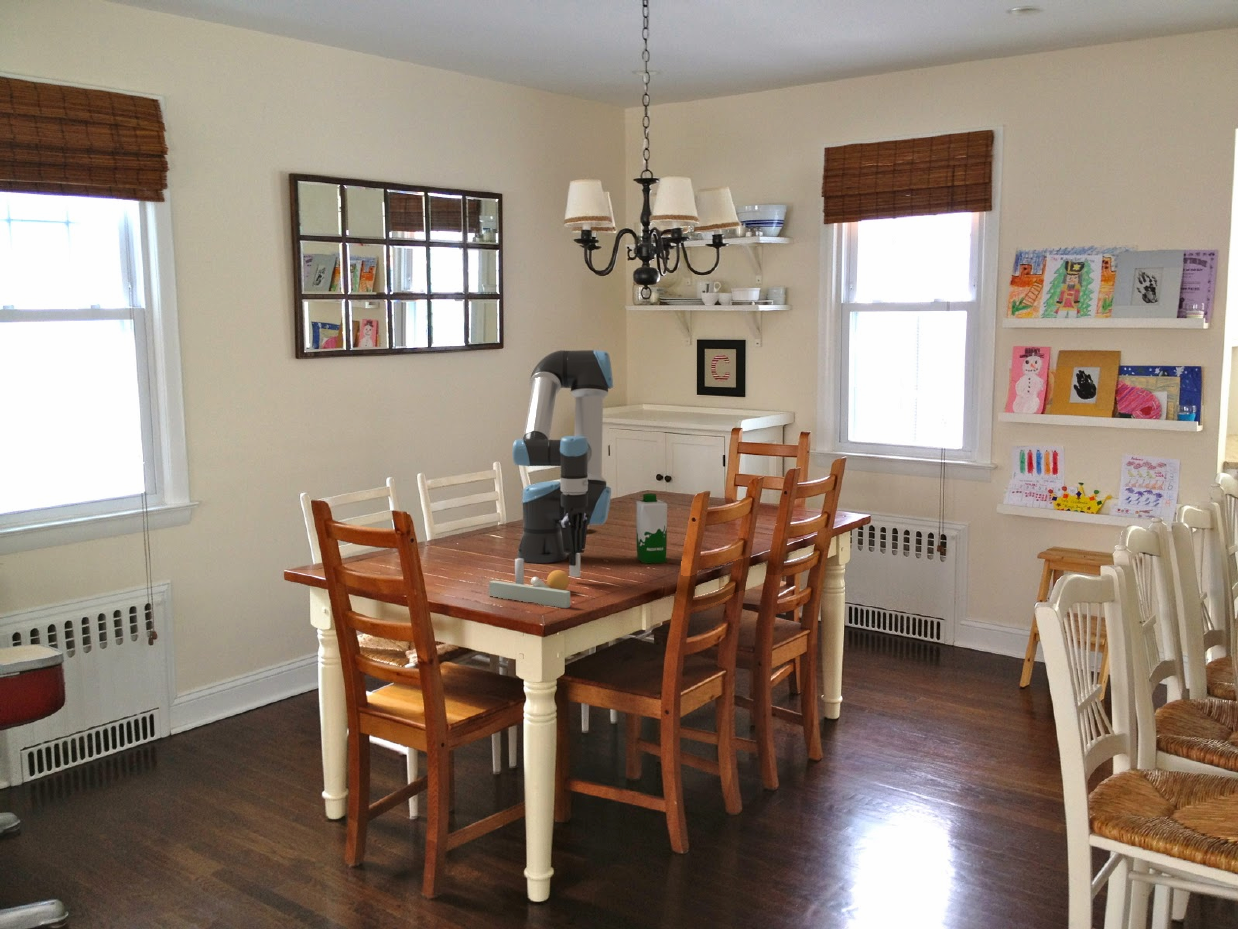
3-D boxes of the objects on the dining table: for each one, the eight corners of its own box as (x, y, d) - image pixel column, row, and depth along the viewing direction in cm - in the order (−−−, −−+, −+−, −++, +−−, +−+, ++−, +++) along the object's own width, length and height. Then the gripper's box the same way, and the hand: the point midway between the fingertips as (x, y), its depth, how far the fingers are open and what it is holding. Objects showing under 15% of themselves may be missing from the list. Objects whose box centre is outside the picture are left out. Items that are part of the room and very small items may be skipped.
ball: (548, 565, 294) (556, 568, 300) (540, 586, 294) (549, 589, 300) (567, 573, 292) (575, 575, 298) (559, 594, 292) (567, 596, 297)
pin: (541, 593, 294) (529, 584, 286) (544, 585, 294) (532, 575, 287) (549, 596, 293) (537, 586, 285) (552, 587, 293) (540, 578, 286)
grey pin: (513, 590, 298) (513, 559, 297) (518, 588, 300) (518, 557, 299) (520, 591, 297) (520, 560, 296) (525, 589, 299) (525, 558, 298)
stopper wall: (489, 596, 291) (488, 582, 291) (493, 595, 293) (493, 580, 293) (566, 608, 280) (566, 592, 279) (570, 606, 282) (570, 591, 281)
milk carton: (660, 556, 339) (661, 492, 337) (670, 563, 331) (670, 497, 328) (633, 558, 337) (633, 494, 334) (642, 564, 328) (642, 498, 326)
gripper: (573, 497, 295) (574, 582, 299) (597, 490, 307) (598, 572, 310) (550, 494, 299) (550, 579, 302) (574, 488, 310) (575, 569, 314)
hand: (574, 576), depth 306 cm, fingers closed
